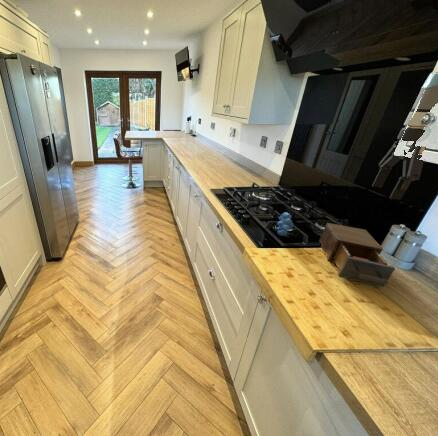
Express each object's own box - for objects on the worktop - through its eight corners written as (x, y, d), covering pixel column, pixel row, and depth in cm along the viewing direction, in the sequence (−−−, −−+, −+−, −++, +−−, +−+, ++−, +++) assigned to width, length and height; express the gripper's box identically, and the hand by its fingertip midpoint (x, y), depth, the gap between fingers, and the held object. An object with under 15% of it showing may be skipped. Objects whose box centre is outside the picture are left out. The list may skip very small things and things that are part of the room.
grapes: (293, 243, 104) (302, 219, 98) (276, 240, 105) (285, 216, 100) (286, 231, 114) (295, 208, 109) (271, 228, 115) (279, 206, 110)
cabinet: (370, 270, 89) (383, 248, 84) (327, 260, 93) (337, 239, 89) (355, 249, 102) (365, 229, 98) (318, 241, 106) (327, 222, 102)
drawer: (390, 297, 75) (404, 278, 71) (343, 285, 79) (354, 267, 75) (366, 263, 91) (375, 246, 88) (328, 254, 95) (336, 238, 92)
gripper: (466, 132, 61) (420, 207, 71) (412, 126, 82) (382, 184, 91) (428, 130, 64) (389, 202, 73) (385, 124, 84) (358, 181, 94)
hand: (385, 192), depth 82 cm, fingers open, 13 cm apart
